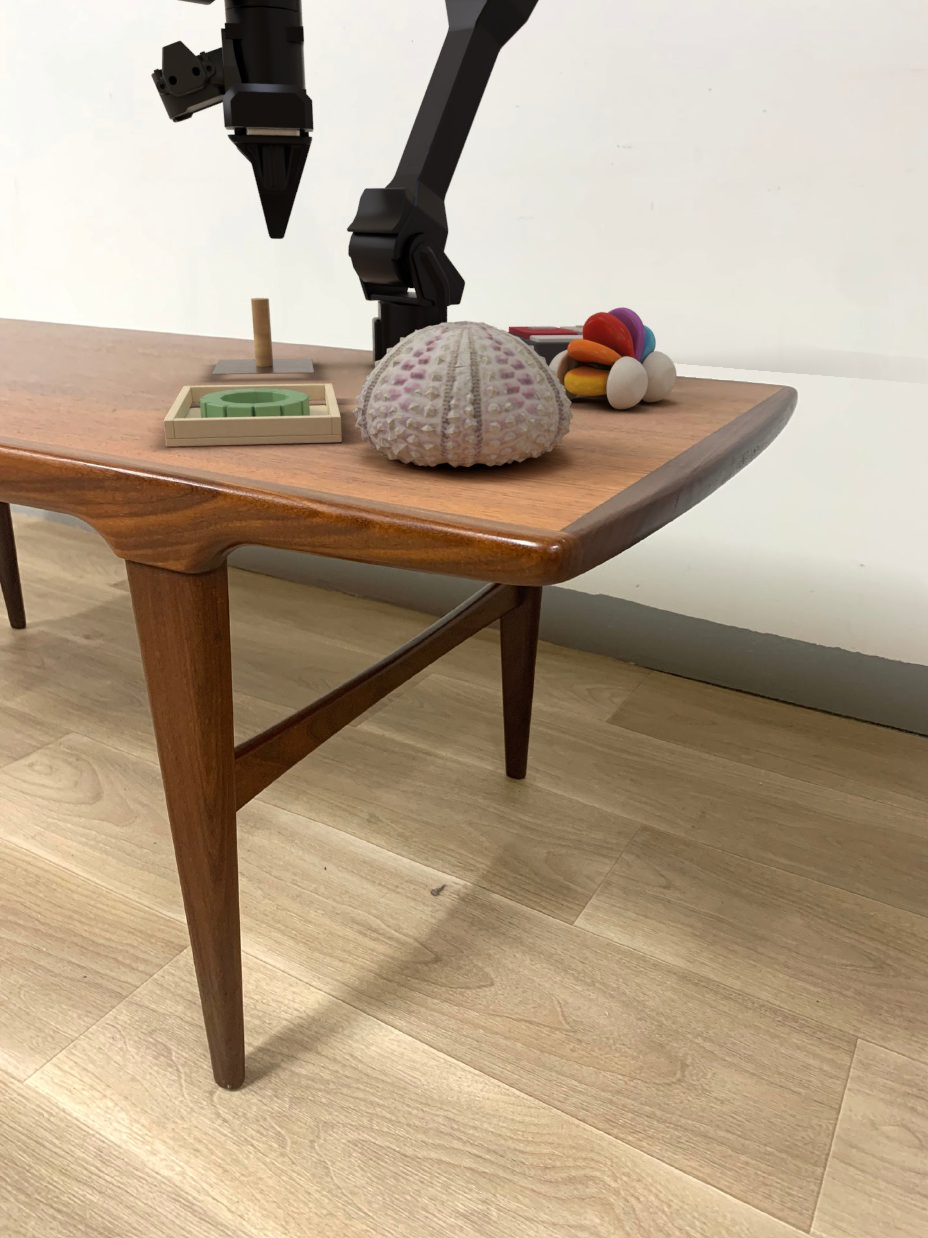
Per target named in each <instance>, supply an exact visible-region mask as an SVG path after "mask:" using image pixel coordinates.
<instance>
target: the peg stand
mask: <svg viewBox="0 0 928 1238" xmlns="http://www.w3.org/2000/svg"><path fill="white" fill-rule="evenodd" d="M250 302H251V318H252V332H253V333H252V334H253V345H254V347H253V348H254V358H253V359H251V358H248V359H246V358H245V359H242V358H241V359H238V358H237V359H218V360H217V363H216V364H215V367H214V369H213V371H212V374H211V375H267V374H268V375H269V374H270V375H271V374H272V375H276V374H277V375H278V374H279V375H280V374H314V373H315V370H314V363H313V359H312V358H274V357H273V356H274V355H273V341H272V339H273V338H272V327H271V324H272V323H271V312H270V311H271V310H270V298H269V297H252V298H250Z"/></svg>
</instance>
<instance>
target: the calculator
mask: <svg viewBox="0 0 928 1238" xmlns="http://www.w3.org/2000/svg"><path fill="white" fill-rule="evenodd" d="M583 326H584V324H581V325H578V324H576V325H574V326H572V325H571V326H569V325H568V326H567V325H566V326H565V325H563V326H562V325H561V326H559V327H556V326H549V325H548V326H547V325H545V326H544V325H543V326H541V325H540V326H508V331H507V332H508V333H510V334H511V335H514V336H517V337H519V338H520V339H521V340H522V341H524V342H525V343H526V344H527V345H529V346H534V350H535V352H536V353H537V354H538V355H539V356H541V357H544V358H545V360H546V364H547V365H548V366H550V363H551V362H552V360H553V359H554V358H555V357H556V356H557V355H558V354H559V353H561V352H563V351H565V350H567V348H568V345H569V343H570V342H572V341H573V340H577V339H583V334H582V330H583Z"/></svg>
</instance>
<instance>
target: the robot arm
mask: <svg viewBox="0 0 928 1238" xmlns="http://www.w3.org/2000/svg"><path fill="white" fill-rule="evenodd" d="M178 1H179V2H185V3H191V4H196V5H203V6H209V5H212V3H214V2H215V1H216V0H178ZM539 1H540V0H444V4H445V11H446V17H447V22H448V23H447V24H448V29H447V33H446V35H445V38H444V41H443V43H442V46H441V49H440V51H439V54H438V57H437V59H436V62H435V65H434V67H433V70H432V73H431V76H430V79H429V81H428V84H427V86H426V89H425V92H424V95H423V97H422V100H421V103H420V106H419V108H418V111H417V114H416V117H415V119H414V122H413V125H412V127H411V130H410V132H409V136H408V138H407V140H406V144H405V146H404V149H403V152H402V155H401V157H400V159H399V162H398V164H397V168H396V171H395V173H394V176H393V177H392V179H391V180H390V181H389V183H388V184H387V185H386V186H385V187H368V188H364V190H363V192H362V193H361V195H360V197H359V201H358V206H357V210H356V214H355V216H354V218H353V219H352V222H351V223H350V224H349V226H347V228H346V231H347V232H348V233H351V235H350V238H349V242H348V246H347V248H348V249H347V251H348V252H347V255H348V257H349V258H350V260H351V261H350V262H351V265H352V268H353V270H354V272H355V273H356V275H357V277H358V279H359V283H360V287H361V289H362V293H363V296H364V298H365V300H366V301H367V302H376V301H377V316H374V317H373V318H372V319H371V332H372V334H371V335H372V336H371V337H372V338H371V339H372V362H373V363H374V364H375V361H378V360H381V359H382V358H383V357H384V356H385V355H386V354H387V349H388V348H393V347H394V346H395V345H396V344H398V343H399V342H400V338H405V337H407V336H408V335H410V334H412V333H413V332H415V330H420V329H423V328H426V327H428V326H434V325H439V324H441V323H446V322H448V307H450V306H458V305H460V304H461V302H462V299H463V295H464V291H465V286H466V281H465V278H463V276H462V275H461V273H460V272H459V271H458V269H457V267H456V266H455V265H454V264H453V262H452V261H451V260H450V258H449V256H448V255H447V253H446V252H445V250H446V245H447V241H448V238H449V224H448V217H447V211H446V204H445V200H446V197H447V193H448V191H449V188H450V186H451V183H452V181H453V177H454V175H455V173H456V170H457V167H458V164H459V162H460V158H461V156H462V153H463V151H464V148H465V145H466V143H467V139H468V137H469V134H470V132H471V130H472V127H473V124H474V121H475V118H476V116H477V113H478V110H479V108H480V105H481V102H482V100H483V97H484V94H485V91H486V88H487V86H488V83H489V81H490V78H491V75H492V72H493V70H494V68H495V64H496V62H497V59H498V56H499V54H500V53H501V51H502V49H503V48H504V47H505V45H506V44H508V42H509V41H510V40H511V39H512V38H514V36H515V35H516V34H517V33H518V32H519V31H520V30H521V29H522V27H524V26H525V25H526V24H527V23H528V22H529V19H530V17H531V16H532V14H533V12H534V10H535V9H536V7H537V5H538V3H539ZM223 2H224V15H225V22H224V27H221V28H220V36H221V46H220V47H218V48H215V49H212V50H209V51H206V50H202V51H200V52H199V54H194V52H193V51H192V50H191V49H190V48H189V47H188V46H187V45H185V43H184V42H183V41H181V40H178V41H174V42H172V43H170V44H167V45H165V46H162V47H161V68H160V69H159V68H155V69H154V70H153V72H152V73H151V75H150V76H151V79H152V81H153V83H154V85H155V88H156V90H157V93H158V95H159V97H160V100H161V102H162V104H163V107H164V109H165V111H166V113H167V116H168V118H169V120H171V121H172V122H173V123H180V122H183V121H186V120H189V119H192V117H193V116H194V114H197V113H199V112H201V111H204V110H207V109H209V108H212V107H215V106H217V105H220V104H222V111H223V112H222V113H223V125H224V128H225V130H227V131H233V134H231V133H230V134H227V137H228V139H229V141H230V142H231V143H232V144H233V145H234V146H235V147H236V149H237V150H238V152H239V153H240V154H241V155H242V156H243V157H244V158H245V159H246V160H247V161H248V162H249V164H251V168H252V172H253V177H254V180H255V184H256V188H257V193H258V197H259V201H260V204H261V209H262V212H263V213H262V214H263V217H264V221H265V225H266V230H267V234H268V237H269V238H270V239H271V240H282V239H284V238H285V236H286V232H287V229H288V226H289V221H290V218H291V215H292V212H293V209H294V208H293V207H294V204H295V200H296V197H297V194H298V191H299V187H300V184H301V180H302V177H303V173H304V170H305V166H306V163H307V159H308V156H309V152H310V150H311V149H310V148H311V147H312V146H311V145H312V142H313V136H310V133H313V132H314V110H313V109H314V107H313V106H314V105H313V99H312V98H311V97H310V96H309V95H308V93H307V87H306V69H305V67H306V66H305V65H306V64H305V48H304V47H305V31H304V25H303V24H304V23H303V22H304V21H303V4H302V0H224V1H223ZM409 289H414V291H409Z"/></svg>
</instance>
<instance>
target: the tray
mask: <svg viewBox="0 0 928 1238" xmlns="http://www.w3.org/2000/svg"><path fill="white" fill-rule="evenodd" d="M251 388H254V389H256V390H257V389H258V388H270V389H280V390H282V389H286V390H293V391H299V392H303V393H304V394H306V395H308V396H309V401H325V404H309V405H310V416H269V417H222V418H201V410H200V406H192V404H193V403H200V398H201V397H203V396H205V395H207V394H211V393H214V392H220V391H225V390H231V391H232V390H234V389H251ZM338 404H339V403H338V400H337V397H336V393H335V389H334V385H333V383H277V384H270V383H269V384H217V385H215V384H214V385H213V384H211V385H207V384H206V385H183V387H182V388H181V390H180V392H179V394H178V395H177V396H176V399H174V402H173V403H172V405H171V407H170V408H169V410H168V412H167V414H166V415H165V417H164V419H163V423H162V424H163V430H164V431H163V432H164V438H165V446H166V447H167V448H168V447H171V448H172V447H209V446H211V447H213V446H214V447H215V446H245V445H246V446H247V445H249V446H250V445H251V446H253V445H286V444H326V443H329V444H330V443H342V442H343V439H342V437H343V435H342V417H341V413H340V409H339V405H338Z"/></svg>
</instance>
